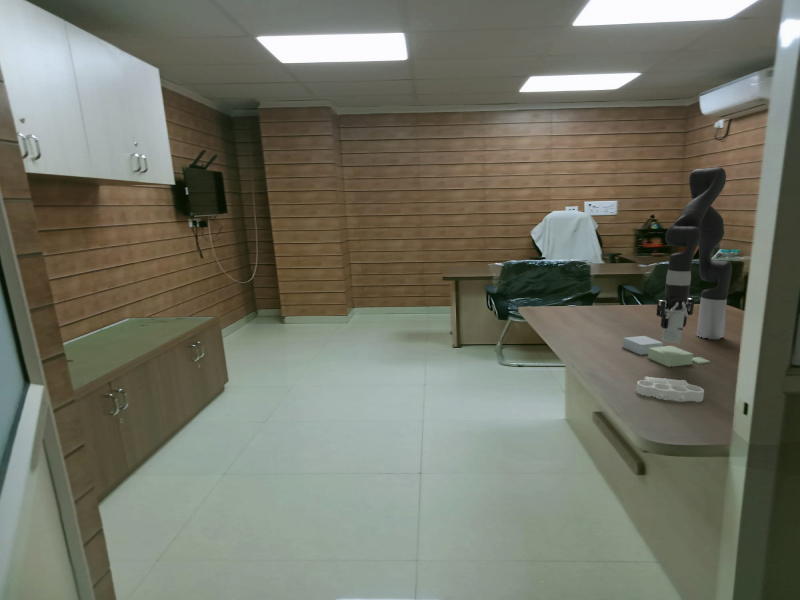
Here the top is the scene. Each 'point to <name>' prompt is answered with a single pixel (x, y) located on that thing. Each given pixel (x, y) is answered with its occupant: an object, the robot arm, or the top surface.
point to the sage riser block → (670, 356)
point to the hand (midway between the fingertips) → (673, 327)
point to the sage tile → (699, 360)
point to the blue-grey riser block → (640, 344)
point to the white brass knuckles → (669, 389)
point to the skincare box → (674, 327)
